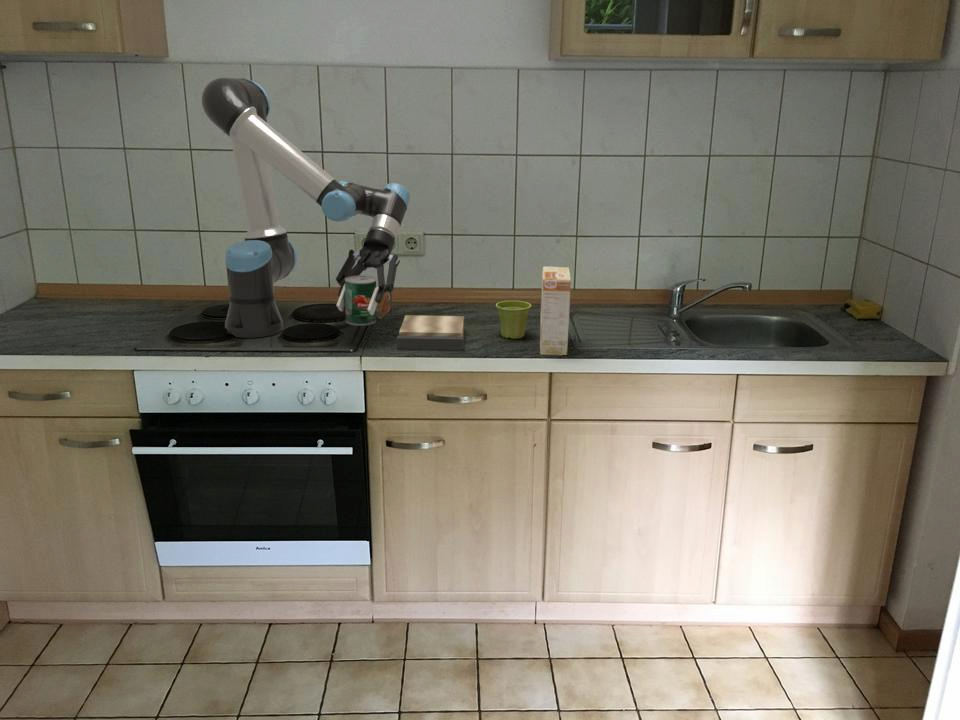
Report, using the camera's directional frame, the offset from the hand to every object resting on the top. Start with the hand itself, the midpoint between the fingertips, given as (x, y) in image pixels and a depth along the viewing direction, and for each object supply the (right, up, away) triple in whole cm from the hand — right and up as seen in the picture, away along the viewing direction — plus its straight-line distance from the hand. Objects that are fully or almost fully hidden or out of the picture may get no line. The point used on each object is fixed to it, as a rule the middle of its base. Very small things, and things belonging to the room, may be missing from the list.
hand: (354, 310), depth 195 cm
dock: (+19, -7, +11) cm, 23 cm away
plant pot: (+40, -6, +15) cm, 43 cm away
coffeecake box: (+50, -9, +6) cm, 51 cm away
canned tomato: (+1, -3, +4) cm, 5 cm away
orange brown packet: (+2, 0, +32) cm, 33 cm away
